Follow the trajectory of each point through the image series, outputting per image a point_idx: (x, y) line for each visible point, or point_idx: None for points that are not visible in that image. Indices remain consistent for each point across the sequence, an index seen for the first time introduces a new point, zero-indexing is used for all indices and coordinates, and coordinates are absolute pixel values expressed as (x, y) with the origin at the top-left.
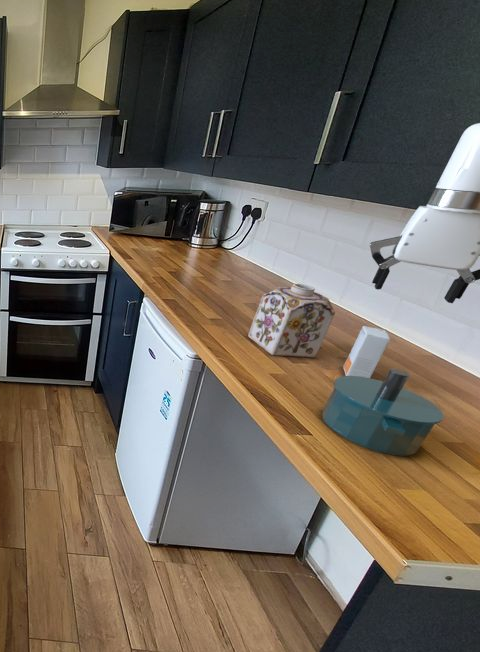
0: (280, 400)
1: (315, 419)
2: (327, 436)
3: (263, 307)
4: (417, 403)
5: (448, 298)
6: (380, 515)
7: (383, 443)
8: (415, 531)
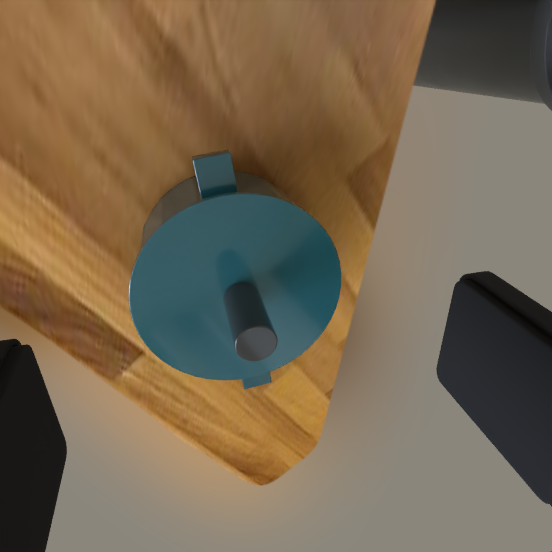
0: (48, 265)
1: None
2: None
3: None
4: (301, 274)
5: (450, 382)
6: (245, 453)
7: None
8: (276, 448)
